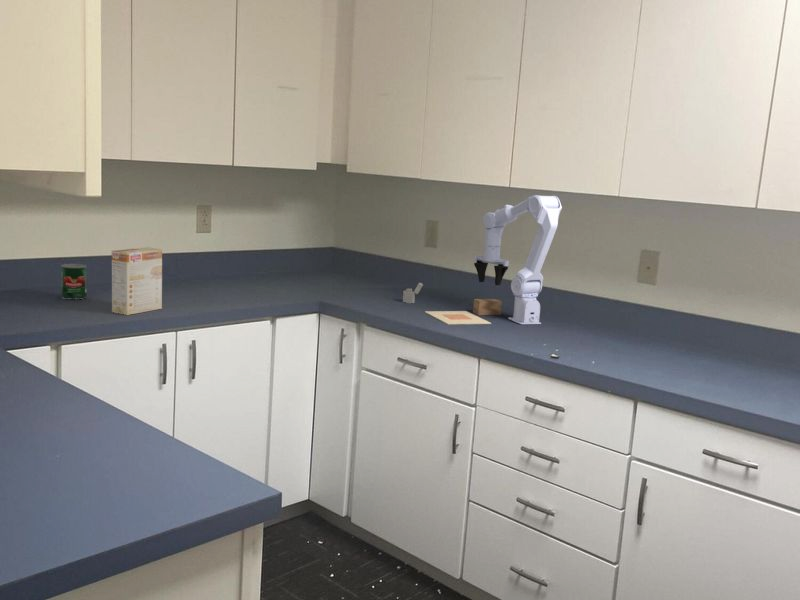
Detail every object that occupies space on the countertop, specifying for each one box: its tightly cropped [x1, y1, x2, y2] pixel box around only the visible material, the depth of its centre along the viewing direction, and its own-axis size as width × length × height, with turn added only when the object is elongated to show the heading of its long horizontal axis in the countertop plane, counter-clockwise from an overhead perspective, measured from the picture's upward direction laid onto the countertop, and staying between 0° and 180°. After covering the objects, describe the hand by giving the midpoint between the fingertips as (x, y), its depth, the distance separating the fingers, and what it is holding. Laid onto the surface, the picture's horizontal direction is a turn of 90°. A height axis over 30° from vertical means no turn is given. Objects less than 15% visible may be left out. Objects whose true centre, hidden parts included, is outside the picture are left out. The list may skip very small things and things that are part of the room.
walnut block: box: [472, 298, 503, 316], centre depth 287 cm, size 9×4×5 cm, turn 111°
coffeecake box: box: [111, 246, 163, 316], centre depth 253 cm, size 15×7×20 cm, turn 152°
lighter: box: [402, 282, 424, 304], centre depth 298 cm, size 7×2×8 cm, turn 68°
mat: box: [424, 310, 492, 325], centre depth 276 cm, size 20×16×1 cm
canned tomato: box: [60, 263, 88, 299], centre depth 267 cm, size 8×8×11 cm
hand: (489, 283), depth 291 cm, fingers open, 7 cm apart
